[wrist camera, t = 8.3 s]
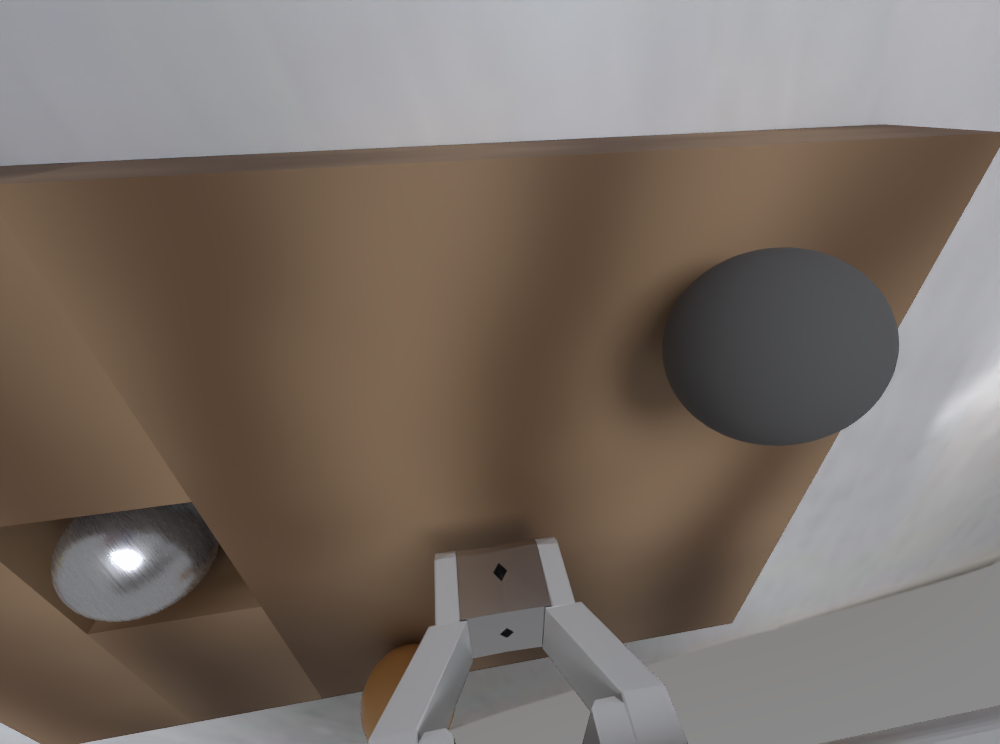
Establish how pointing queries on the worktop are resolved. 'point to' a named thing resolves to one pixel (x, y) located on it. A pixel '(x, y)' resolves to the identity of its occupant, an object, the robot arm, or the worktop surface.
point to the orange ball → (384, 685)
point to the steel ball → (132, 561)
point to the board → (401, 390)
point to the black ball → (780, 346)
